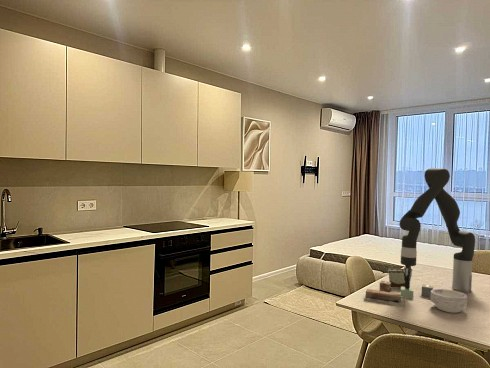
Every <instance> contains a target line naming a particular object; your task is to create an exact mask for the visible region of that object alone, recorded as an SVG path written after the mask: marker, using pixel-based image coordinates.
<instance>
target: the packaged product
mask: <svg viewBox="0 0 490 368" xmlns="http://www.w3.org/2000/svg"><path fill="white" fill-rule="evenodd" d="M364 295H365V297H364V301H366V302H371V303H378V304H382V305H383V304H385V305H390V306H396V307H401V308H402V307H404V305H405V304H404V303H405V302H404V298H402V297H401V293H396V292H395V293H394V292H384V291H379V289H377V290H376V289H372V288H367V289H366V290H365V294H364Z"/></svg>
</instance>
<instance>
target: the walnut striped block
mask: <svg viewBox="0 0 490 368" xmlns="http://www.w3.org/2000/svg"><path fill="white" fill-rule="evenodd" d="M391 289H392V287H391V282H389V281H385V280H381V281H380V282H379V289H378V291H384V292H390V293H392V292H391V291H392V290H391Z"/></svg>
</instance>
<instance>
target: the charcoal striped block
mask: <svg viewBox="0 0 490 368" xmlns="http://www.w3.org/2000/svg"><path fill="white" fill-rule="evenodd" d="M433 289H434V285H429V284H422V285H421V296H422V297H426V298H430V297H431V296H430V295H431V290H433Z"/></svg>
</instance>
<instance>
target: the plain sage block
mask: <svg viewBox="0 0 490 368" xmlns="http://www.w3.org/2000/svg"><path fill="white" fill-rule="evenodd" d="M400 295H401V298H406V299H414V288H413V287H410V288H409V289H406V288H405V287H401V288H400Z"/></svg>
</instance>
